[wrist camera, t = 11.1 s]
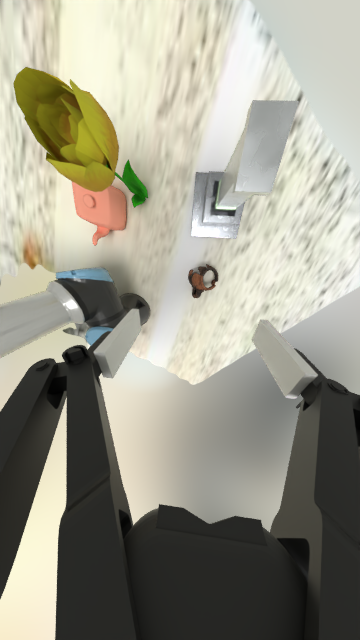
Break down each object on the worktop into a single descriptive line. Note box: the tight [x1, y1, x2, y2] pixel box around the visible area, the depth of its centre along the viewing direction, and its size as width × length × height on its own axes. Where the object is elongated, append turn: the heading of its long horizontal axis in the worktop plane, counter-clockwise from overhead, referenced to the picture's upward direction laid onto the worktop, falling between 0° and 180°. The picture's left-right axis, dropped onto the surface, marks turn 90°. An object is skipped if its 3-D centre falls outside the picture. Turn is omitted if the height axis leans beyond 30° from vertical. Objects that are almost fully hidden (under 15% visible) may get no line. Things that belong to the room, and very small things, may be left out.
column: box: [213, 100, 299, 213], centre depth 22 cm, size 4×6×21 cm
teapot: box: [72, 181, 126, 245], centre depth 37 cm, size 12×18×10 cm, turn 167°
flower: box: [14, 67, 148, 208], centre depth 26 cm, size 9×8×30 cm
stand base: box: [191, 171, 245, 239], centre depth 34 cm, size 14×14×12 cm
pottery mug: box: [188, 264, 218, 298], centre depth 48 cm, size 12×10×8 cm
